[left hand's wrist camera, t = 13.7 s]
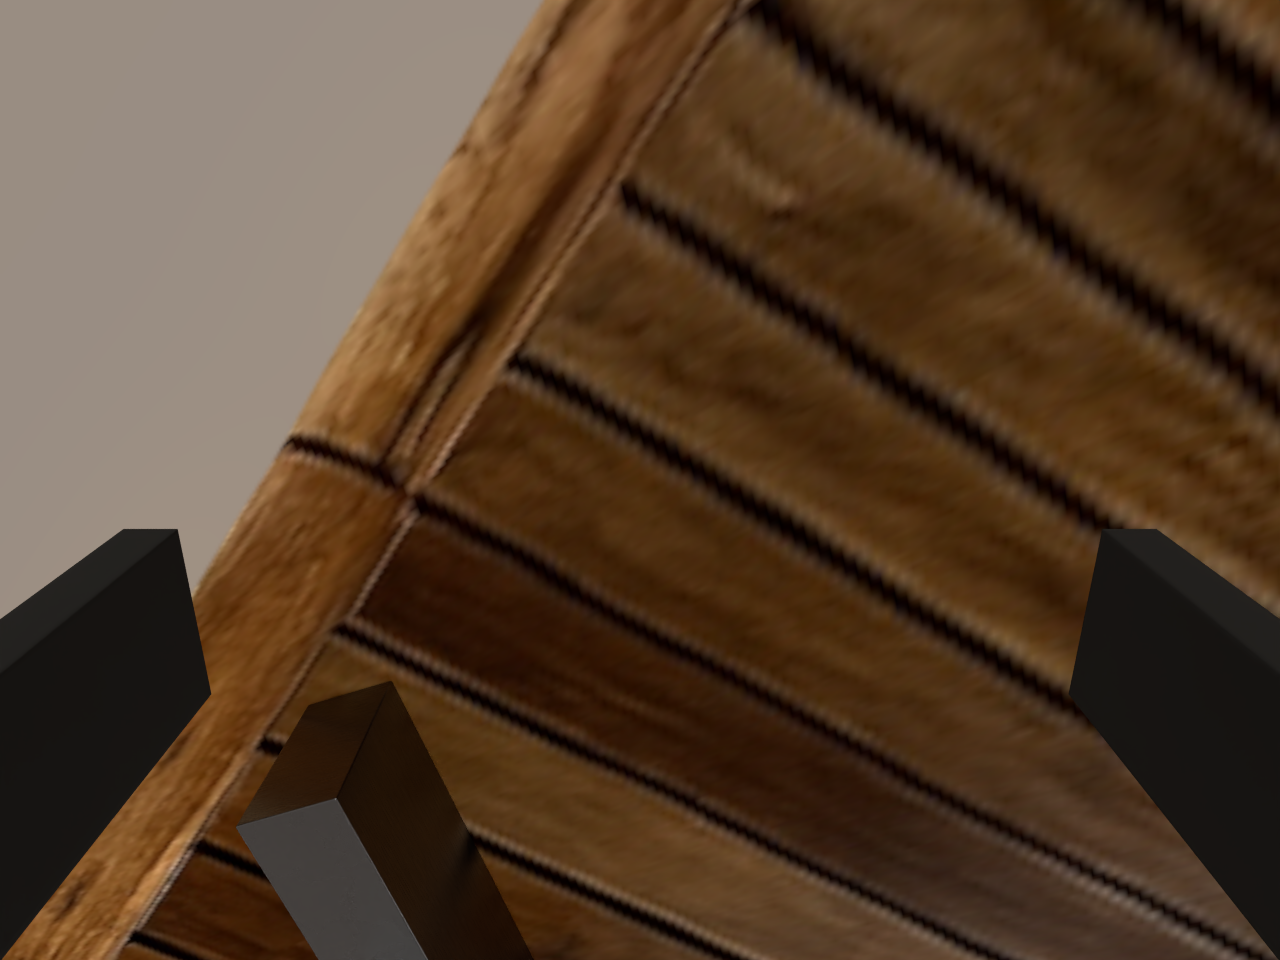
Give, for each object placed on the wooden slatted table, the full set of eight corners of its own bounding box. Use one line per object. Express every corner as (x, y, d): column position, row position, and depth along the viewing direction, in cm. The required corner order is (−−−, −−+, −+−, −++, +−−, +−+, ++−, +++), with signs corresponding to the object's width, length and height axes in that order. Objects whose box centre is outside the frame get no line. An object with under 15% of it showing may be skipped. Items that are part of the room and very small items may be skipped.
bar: (308, 704, 46) (234, 827, 38) (391, 680, 45) (336, 798, 37) (491, 1035, 55) (464, 1194, 46) (563, 1017, 54) (549, 1175, 46)
